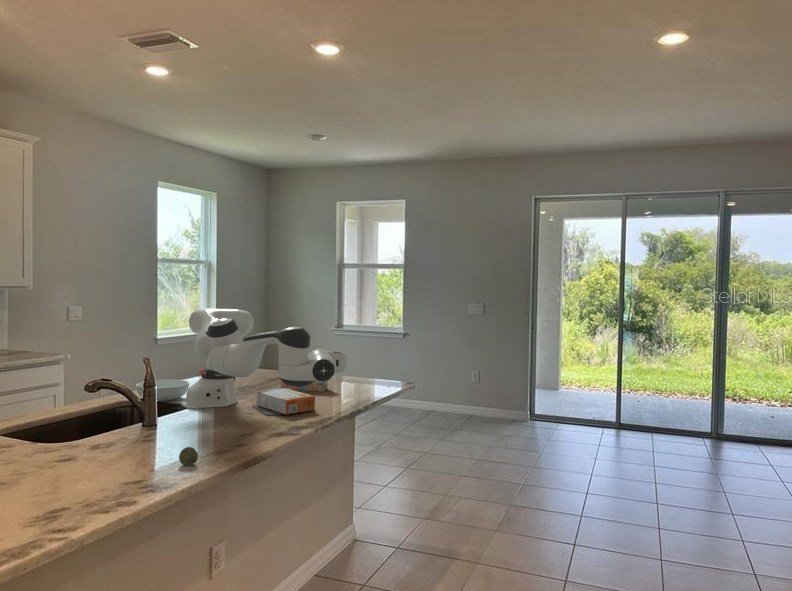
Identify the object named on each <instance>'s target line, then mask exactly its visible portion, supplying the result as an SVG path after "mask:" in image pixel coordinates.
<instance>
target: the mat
mask: <svg viewBox="0 0 792 591" xmlns="http://www.w3.org/2000/svg"><path fill="white" fill-rule="evenodd" d="M254 407H255V408H254ZM252 408H254V409H256V410H257V409H258V410H257V411H258V412H260V413H262V414H263V415H264V416H266V417H270V415H272V416H281V415H280V414H282V415H284V414H283V413H280V412H277V411H273V410H270V409H267V408H264V407H261V406H258V405H256V404H252ZM310 411H312V412H316V409H315V410H310ZM303 413H309V412H308V411H304V412H303Z"/></svg>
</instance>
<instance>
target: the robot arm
mask: <svg viewBox="0 0 792 591" xmlns="http://www.w3.org/2000/svg"><path fill="white" fill-rule="evenodd" d="M254 321H255V320H254V318H253V315H252V313H251V312H249V311H247V310H243V309H238V308H235V309H234V308H200V309H196V310H195V309H194V311H193V312H192V313H191V314H190V316H189V319H188V326H189V328H190V330H191V331H192V332H193V334H196V335H197V336H196V339H195V343H194V349H195V353H196V354H197V355H198V356H199V357H200V358H201V359H204V360H206V368H205V369H203V368H200V369H198V373H199V375H201V378H200V379H198V380H197V381H196V382H194V384H192V385H191V386H189V387H188V390H187V392H186V397H185V398H183V399H182V400H180V406H182V407H184V408H187V409H204V408H224V407H225V408H226V407H229V406H231V405H234V404H237V403H238V402H239V401H238V398H237V393H236V391H237V390H236V385H235V382H236V378H245V377H250V376H251V375H252V374H254V373H255V372H256V371H257V370H258V369H259V367H260V365H261V363H262V360H263V359H262V358H263V354H264V351H265V349H266V346H267V345H273V344H277V349H278V365H277V366H278V379H279V380H280V382H281V381H282V382H284V383H285V384H287V385H289V386H297V387H299V386H307V385H310V384H311V383H313V382H314V381H317V382H326V381H330V380H332V379H333V377H334V376H335V374H336V373H344V372H345V371H346V368H347V367H348V366H347V364H348V363H347V362H348V354H347V353H346V352H341V351H340V352H339V351H331V350H329V349H324V348H315V349H313V350H311V352H310V344H311V335H310V333H309V332H308V331H307V330H306V329H305V328H304V327H300V326H289V327H287V328H284V329H281V330H275V331H274V330H273V331H267V332H261V333H260V332H259V333H257V334H251V335H248V334H249V333H250V332H251V331H252V329H253V327H254V325H255V324H254ZM247 335H248V336H247Z"/></svg>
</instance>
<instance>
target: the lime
mask: <svg viewBox="0 0 792 591" xmlns="http://www.w3.org/2000/svg"><path fill="white" fill-rule="evenodd" d="M178 459H179V462H180V464H181V465H183V466H185V467H188V466H192V465H194V464H196V463H197V461H198V459H199V455H198V452H197V450H196V449H195V448H194V447H193V446H187V447H185V448H183V449H182V450H180V452H179V455H178Z"/></svg>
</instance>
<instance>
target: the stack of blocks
mask: <svg viewBox="0 0 792 591" xmlns="http://www.w3.org/2000/svg"><path fill="white" fill-rule="evenodd" d="M328 383H329V382H328V381H326V382H317V381H314V382H313V383H311V384H310V385H307V386H299V387H297V386H289V385H287V384H285V383H284V382H282V381H281V380H280V389H282V388H286V389H290V390H292V389H298V390H297V391H308V390H312V391H311V392H314V391H315V392H323V391H324V392H326V391H327V390H328V389H329V388H328V387H329V386H328ZM326 389H327V390H326ZM325 390H326V391H325Z"/></svg>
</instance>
